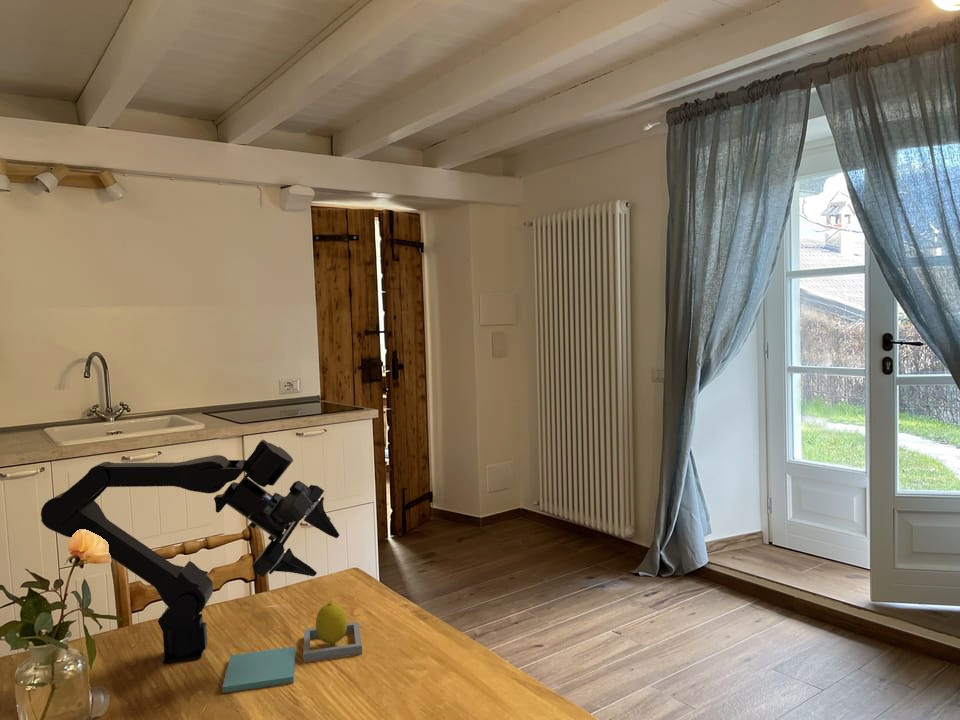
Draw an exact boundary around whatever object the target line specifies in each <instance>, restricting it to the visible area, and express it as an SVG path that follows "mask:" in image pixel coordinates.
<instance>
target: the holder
mask: <svg viewBox="0 0 960 720" xmlns="http://www.w3.org/2000/svg"><path fill="white" fill-rule="evenodd" d="M303 631H304V633H303V663H307V662H308V663H309V662H316V661H321V660H329V659H335V658H342V657H349V656H350V657H351V656H357V655H363V644H362V637H361V630H360V624H359V621H355V622H349V623H348V622H347V629H346V633H345V635H347V634H353V637H354V643H352V644H347V645H346V644H344V645H338V646H331V647H323V648H317V649H311V639H317V638H319V636H318V634H317V631H316V627H312V628H304V630H303Z"/></svg>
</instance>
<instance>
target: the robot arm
mask: <svg viewBox="0 0 960 720" xmlns="http://www.w3.org/2000/svg"><path fill="white" fill-rule="evenodd" d="M293 462H294V459H293V457H292V456H291V455H290V453H288V452H287V451H286V450H285V449H283V448H282V447H281V446H277V445H275V444H273V443H271V442H268V441H266V439H261V440H260V442H258V444H257V445H256V447H255V449H254V450H253V452H252V453H251V455H250V456H249V457H248V458H247V459H244V460H243V459H228V458H227V457H226V456H224V455H219V454H215V455H209V456H203V457H197V458H193V459H190V460H185V461H180V462H178V461H177V462H111V461H103V462H101V463H98V464H97V465H95V466H93V467H91V468H90V469H89V470H88V472H87V473H86V474H85V475H84V476H83V477H82V478H80V479H79V480H78V481H77V482H76V483H74V484H73V485H72V486H70V488H68V489H67V490H66V491H64V492H61V493H60V494H58V495H56V496H54V497H52V498H51V499H48V500H47V501H46V502H45V503H44V504H43V505H42V508H41V511H40V517H41V520H40V521H41V523H42V524H43V525H44V527H45V528H47V529H49V530H50V531H52V532H55V533H57V534H60V535H62V536H64V537H67V538H71V537H72V535H73V534H74V533H75V532H76V531H77V530H79V529H86V530H89V531H91V532H93V533H95V534H97V535H99V536H101V537H102V538H103V539H105V540H106V541H107V542H108V544H109V553H110V555H111V557H110V558H111V559H112V560H113V561H115V562H117V563H118V564H119V565H121V566H122V567H124V568H126V569H127V570H129V571H130V572H131V573H133V574H134V575H135V576H137V577H139V578H141V579H142V580H143V581H144V582H146V583H148V584H149V585H151V586H152V587H154V589H155V590H156V592H157V593H158V596H159V597H160V598H161V600H162V602H163V603H164V605H166V609H165V610H164V612H163V613H162V614H161V615H160V617H159V619H158V620H157V623H158V626H159V627H160V629H161V631H162V641H163V642H162V643H163V657H162V658H161V663H162V664H168V663H169V664H170V663H175V662H182V661H183V662H184V661H191V660H198V659H201V658H202V656H203V653H204V651H206V649H207V645H208V629H207V622H205V621H204V620H203V617H204V616H203V613H202V612H203V610H204V608H205V607H206V605H207V604H208V601H209V600H210V598H211V597H212V595H213V593H214V585H213V581H212V579H211V578H210V576H208V574H209V572H208V571H205V570H203V569H201V568H199V567H198V566H197V565H196V564H195V563H194V562H192V561H191V560H188V561H187V562H186V564H185V565H184V566H182V565H177V564H174V563H172V562H170V561H169V560H167V559H166V558H165V557H163V556H162V555H160V554H159V553H157V552H155V550H152V549H151V548H150V547H148V546H147V545H146V544H144V543H142V542H141V541H139V540H138V539H137V538H136V537H134V536H132V535H131V534H129V532H126V531H125V530H123V529H122V528H120V527H119V526H117V525H116V524H115V523H114V522H112V521H111V520H109V519H108V518H107V517H106V516H105V513H104V512H103V510H102V508H101V507H100V505H99V504H98V503H97V502H96V499H97V498H99V496H100V497H101V495H102V494H103V493H104V492H105V490H106V489H107V488H127V487H128V488H129V487H130V488H132V487H133V488H138V487H140V488H141V487H143V488H144V487H175V488H181V489H184V490H186V491H190V492H196V493H201V494H202V493H203V494H215V493H217V492H219V491H221V490H222V489H223V488H224V487H225V486H226V485H227V484H228V483H230V482H231V483H230V484H229V485H228V487H227V488H226V490H224V492H223V493H221V494H216V495H215V496H214V497H213V500H214V502H215V512H216V513H220V512H221V511H222V510H223V509H224V508H225V506H226V505H228V506H229V507H230V508H232V509H233V510H235V511H236V512H237V513H239V514H240V515H241V516H243V517H244V518H246V519H247V520H248V521H249V522H251V523H250V524H249V526H250V527H251V528H253V529H255V528H256V527H259V528H260V529H261V530H263V532H266V533H267V534H268V535H269V536H268V537H267V539H268V540H270V542H269V543H268V544H267V545H266V546H265V547H264V549H262V551H261V552H260V554H259V555H258V556H257V558H256V559H255V561H254V562H253V563H252V568H253V571H254V573H255V574H257V575H258V576H259V577H261V578H264V577H265V576H266V575H267V574H269V575H273V572H281V573H291V574H298V575H303V576H309V577H315V576H316V575H317V574H318V572H317V571H316V570H315V569H314V568H313V567H311V566H310V565H308V564H307V563H305V562H304V561H303V560H301V559H299V558H298V557H297V556H295V554H294V553H293V551H292V550H291V548H290V547H288V548H287V550H285V546H284V545H285V544H286V542H287V540H288V539H289V538H290V536H291V535H292V533H293V532H294V530H295V529H296V527H297V526H298V524H299V523H300V522H301V520H303V522H306V523H307V524H309V525H311V526H313V527H314V528H316V529H318V530H319V531H321V532H323V533H325V534H327V535H328V536H329V537H332V538H335V539H338V538H339V537H340V533H339V531H338V530H337V529H336V527H335V525H334V524H333V523H332V521H331V520H330V518H329V517H328V515H327V513H326V511H325V509H324V500H325V498H324V496H322V495H323V494H324V492H325V490H324V489H323V488H322V487H320V486H318V485H314V484H310V485H309V486H308V485H307V484H306V483H304V482H302V481H301V480H297V481H294V482H293V483H292V484H291V486H290V488H289V492H288V493H287V495H286V496H284V495H281V494H280V493H277V492H274V493H273V494H270V492H268V491H266V489H264V488H266V487H267V486H275V484H276V483H277V482H278V480H279V479H280V478H281V477H282V475H283V474H284V473H285V472H286V471H287V470H288V468H289V467H290V465H291V464H292V463H293ZM244 472H245V475H244V476H243V478H242V479H241V480H240V481H239V482H235V481H237V479H238V478H239V477H240V476H241V475H242V474H243V473H244ZM321 496H322V497H321ZM71 539H72V538H71Z"/></svg>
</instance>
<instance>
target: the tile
mask: <svg viewBox="0 0 960 720" xmlns="http://www.w3.org/2000/svg"><path fill="white" fill-rule="evenodd" d="M296 651H297V649H296V645H295V646H289V647H288V646H287V647H281V648H280V647H279V648H273V649H266V650H259V651H251V652H245V653H243V652H242V653H238V654H231V655H230V656H229V660H228V664H227V668H226V672H225V675H224V679H223V682H222V683H223V684H222V686H221V687H222V694H227V693H233V692H239V691H246V690H254V689H258V688H259V689H260V688H267V687H272V686H280V685H286V684H294V683H295V672H296V671H295V670H296V669H295V668H296V656H297V655H296Z"/></svg>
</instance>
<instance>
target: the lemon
mask: <svg viewBox="0 0 960 720" xmlns="http://www.w3.org/2000/svg"><path fill="white" fill-rule="evenodd" d="M347 623H348V619H347V615H346V612H345V609H344V608H343V607H342V605H340V604H337V603H334V602H332V601H328V602H327V603H326V604H324V605H323V606H322V607H321V608H320V609H319V610H318V613H317V614H316V618H315V628H316V631H317V634H318V636H319V637H318V638H319V639H320V640H321V641H322V642H323V643H325V644H328V645H330V646H331V647H334V646H336V644H337V643H338V642H340V641H341V640H342V639H343V638H344V636H345V635H346V634H345V633H346V629H347Z"/></svg>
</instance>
